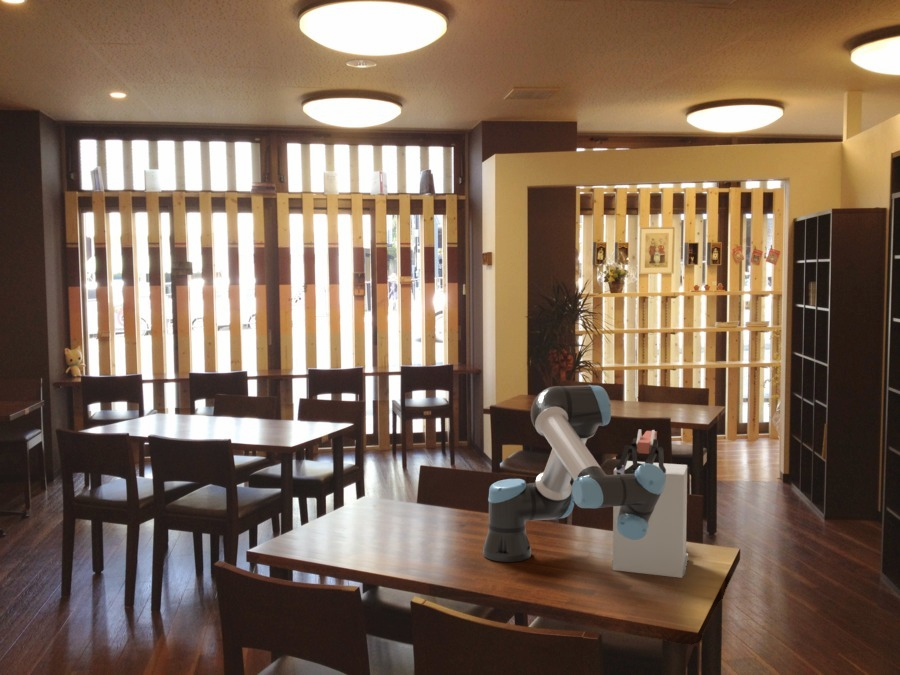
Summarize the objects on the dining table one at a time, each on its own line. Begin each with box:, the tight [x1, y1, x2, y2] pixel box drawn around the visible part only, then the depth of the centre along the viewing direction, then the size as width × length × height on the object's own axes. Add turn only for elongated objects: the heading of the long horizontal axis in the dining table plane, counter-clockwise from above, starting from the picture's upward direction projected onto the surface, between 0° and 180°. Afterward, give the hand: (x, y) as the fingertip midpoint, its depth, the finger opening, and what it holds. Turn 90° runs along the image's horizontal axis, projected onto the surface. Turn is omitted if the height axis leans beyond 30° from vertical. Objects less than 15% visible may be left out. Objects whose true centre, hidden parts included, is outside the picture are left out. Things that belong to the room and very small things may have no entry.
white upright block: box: [611, 460, 689, 579], centre depth 243 cm, size 18×21×30 cm
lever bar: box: [637, 430, 658, 455], centre depth 231 cm, size 22×3×3 cm, turn 160°
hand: (646, 433), depth 228 cm, fingers closed on lever bar, 3 cm apart
